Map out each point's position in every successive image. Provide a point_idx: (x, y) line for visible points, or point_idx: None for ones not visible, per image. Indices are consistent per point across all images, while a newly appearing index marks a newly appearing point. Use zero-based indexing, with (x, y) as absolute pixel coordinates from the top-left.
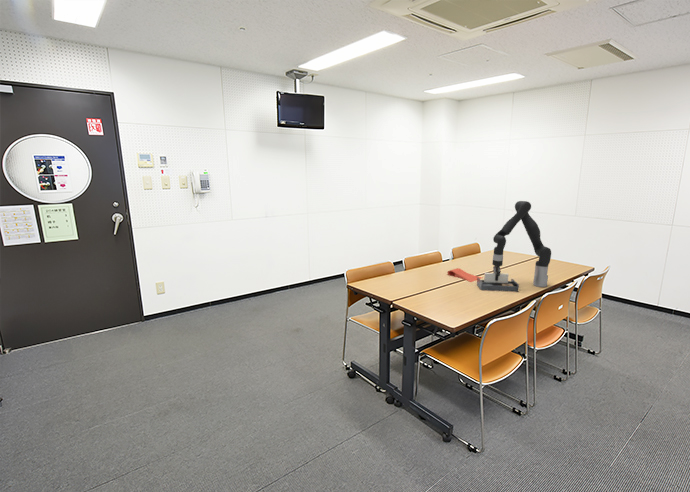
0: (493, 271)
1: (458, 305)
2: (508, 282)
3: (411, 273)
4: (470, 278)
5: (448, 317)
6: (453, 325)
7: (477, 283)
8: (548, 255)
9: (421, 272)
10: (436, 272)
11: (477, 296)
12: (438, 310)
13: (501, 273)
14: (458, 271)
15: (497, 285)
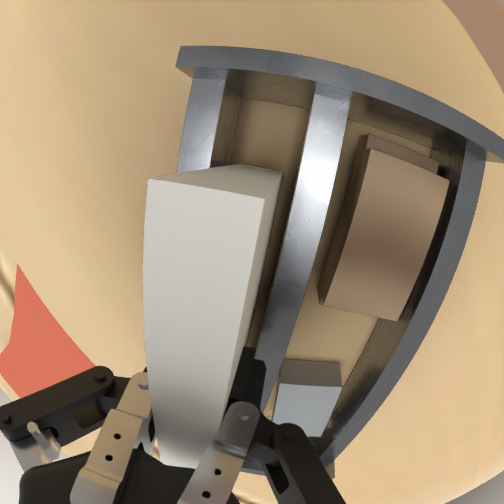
0: (83, 412)
1: (444, 483)
2: (219, 131)
3: None
4: (70, 371)
5: (476, 482)
6: (501, 470)
7: None
8: None
9: (69, 447)
10: None
11: (416, 455)
12: (439, 498)
13: (153, 356)
14: (27, 391)
15: (380, 380)
